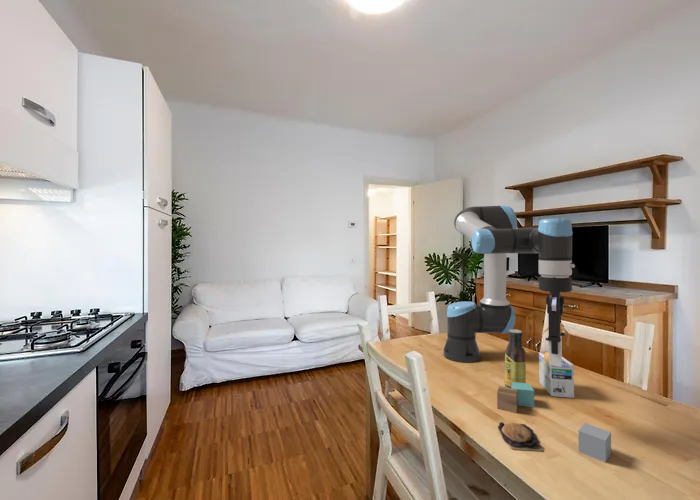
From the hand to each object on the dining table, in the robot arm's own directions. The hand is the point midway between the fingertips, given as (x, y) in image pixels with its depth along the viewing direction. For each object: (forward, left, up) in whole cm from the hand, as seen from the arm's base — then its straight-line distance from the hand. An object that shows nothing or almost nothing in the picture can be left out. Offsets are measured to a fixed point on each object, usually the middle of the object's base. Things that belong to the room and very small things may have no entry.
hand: (555, 362), depth 85 cm
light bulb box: (-23, -1, -17) cm, 28 cm away
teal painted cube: (-8, -9, -17) cm, 21 cm away
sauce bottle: (-16, -12, -17) cm, 26 cm away
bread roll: (+13, -7, -17) cm, 23 cm away
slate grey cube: (+9, +8, -17) cm, 21 cm away
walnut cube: (-2, -12, -17) cm, 21 cm away
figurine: (-1, 0, -1) cm, 2 cm away
